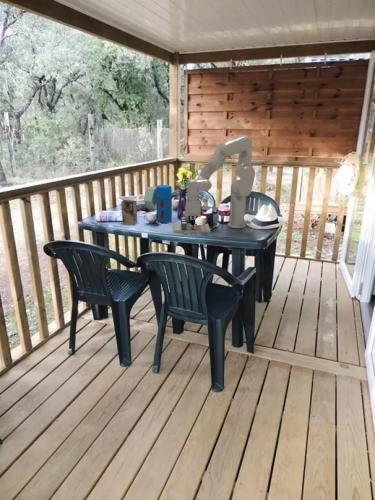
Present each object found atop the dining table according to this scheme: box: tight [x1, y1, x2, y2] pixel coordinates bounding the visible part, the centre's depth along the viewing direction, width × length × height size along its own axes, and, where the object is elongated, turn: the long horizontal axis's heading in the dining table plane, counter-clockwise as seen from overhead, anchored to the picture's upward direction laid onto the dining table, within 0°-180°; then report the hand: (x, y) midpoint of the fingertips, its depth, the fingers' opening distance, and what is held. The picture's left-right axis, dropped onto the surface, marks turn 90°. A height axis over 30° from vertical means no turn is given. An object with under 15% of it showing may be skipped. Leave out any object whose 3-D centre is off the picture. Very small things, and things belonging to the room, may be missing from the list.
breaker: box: [182, 221, 187, 229], centre depth 230 cm, size 3×2×4 cm
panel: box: [172, 222, 211, 234], centre depth 237 cm, size 24×16×2 cm, turn 94°
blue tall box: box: [156, 184, 173, 224], centre depth 250 cm, size 11×11×25 cm
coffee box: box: [120, 199, 138, 226], centre depth 245 cm, size 9×6×16 cm
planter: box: [143, 185, 157, 211], centre depth 285 cm, size 17×8×21 cm
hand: (192, 225), depth 236 cm, fingers closed
